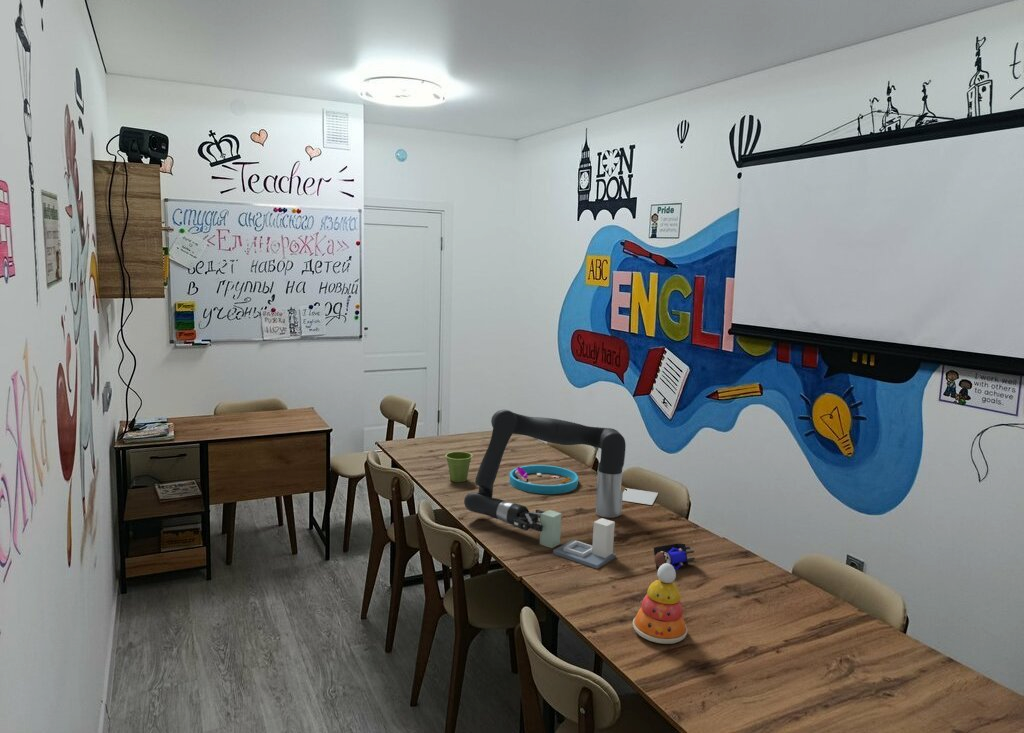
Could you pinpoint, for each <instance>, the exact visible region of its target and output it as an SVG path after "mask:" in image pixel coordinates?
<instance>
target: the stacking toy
mask: <svg viewBox="0 0 1024 733" xmlns="http://www.w3.org/2000/svg"><path fill="white" fill-rule="evenodd" d="M656 574H657V578H658V579H655V580H654V581H653V582H651V583H650V585H649V587H648V588H647V591H646V594H645V596H644V597H643V599H642V600H641V605H640V608H639V609H638V611H637V613H636V616H635V617H634V618H633V620H632V627H633V629H634V631H635V632H636V633H637V634H638V635H639V636H640V637H641V638H643V639H645V640H647V641H650V642H653V643H656V644H663V645H664V644H665V645H667V644H668V645H669V644H676V643H678V642H679V643H680V642H681V641H682V640H684V639H685V638H686V637H687V635H688V628H687V625H686V622H685V618H684V616H683V613H684V610H683V605H682V601H681V593H680V590H679V587H678V586H677V585H676V583H674V581H675V580H676V577H677V573H676V570H675V569H674V567H673V566H672V565H670V564H668V563H665V564H663V565H661V566H660V567H659V569H657V573H656Z"/></svg>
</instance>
